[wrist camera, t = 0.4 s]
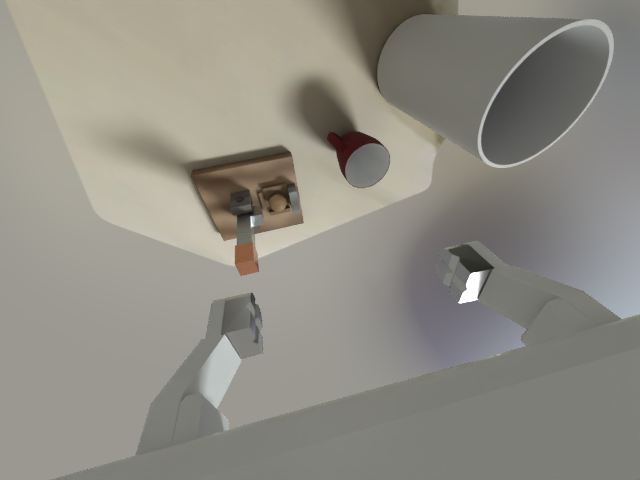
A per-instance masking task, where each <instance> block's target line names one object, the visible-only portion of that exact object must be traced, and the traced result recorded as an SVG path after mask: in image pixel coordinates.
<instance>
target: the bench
mask: <svg viewBox="0 0 640 480" xmlns="http://www.w3.org/2000/svg"><path fill="white" fill-rule="evenodd" d="M191 177H192V179H193V181H194V183H195V185H196V187H197V189H198V191H199V193H200V195H201V197H202V199H203V201H204V202H205V204H206V206H207V208H208V210H209V212H210V214H211V216H212V218H213V220H214V222H215V224H216V226H217V228H218V230H219V232H220V234H221V236H222V238H223V240H224V241H226V240H230V239H235V238H237V215H239V214H243V213H248V212H253V206H258V205H260V206H261V209H262V212H263V217H264V225H259V226H255V227H254V234H257V233H261V232H266V231H270V230H275V229H279V228H283V227H288V226H292V225H297V224H301V223H304V222H303V216H302V210H301V205H300V199H299V193H298V187H297V182H296V176H295V170H294V164H293V159H292V155H291V152H288V153H283V154H277V155H272V156H267V157H262V158H256V159H251V160H246V161H241V162H235V163H230V164H225V165H220V166H214V167H209V168H204V169H199V170H193V171H192V174H191ZM274 194H281V195H283V196H284V197H285V199H286V201H287V204H286V207H285V209H284V210H282V211H279V212H277V211H274V210H272V209H271V208H270V206H269V199H270V197H271V196H272V195H274Z"/></svg>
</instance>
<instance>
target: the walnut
mask: <svg viewBox="0 0 640 480" xmlns="http://www.w3.org/2000/svg"><path fill="white" fill-rule="evenodd" d="M286 204H287V201H286V199H285V197H284V196H283V195H281V194H274V195H272V196H271V197H270V199H269V206H270V208H271V209H272V210H274V211H277V212H279V211H282V210H284V209H285V207H286Z"/></svg>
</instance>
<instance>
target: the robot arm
mask: <svg viewBox="0 0 640 480" xmlns="http://www.w3.org/2000/svg"><path fill="white" fill-rule="evenodd" d="M439 256H440V257H441V260H440V261H439V262H438V263H437V267H436V271H437V275H438V277H439V279H440V281H441V282H442V283H443V284H445V285H447V286H449V292H450V293H451V294H452V295H453V297H454V298H455V299H456V300H457V302H458V303H463V302H467V301H472V300H476V299H478V301H480V302H482V303H483V304H485V305H487V306H488V307H490V308H492V309H494V310H495V311H497V312H499V313H500V314H502V315H504V316H505V317H507V318H509V319H511V320H512V321H514V322H516V323H517V324H519V325H521V326H522V327H524V328H526V329H527V330H526V331H525V332H524V334H523V335H522V336H521V341H522V342H523V343H524V344H525V345H526V346H525V347H522V348H518V349H514V350H511V351H508V352H504V353H500V354H497V355H493V356H490V357H486V358H482V359H479V360H475V361H472V362H468V363H465V364H461V365H457V366H454V367H450V368H447V369H443V370H439V371H436V372H432V373H429V374H425V375H422V376H418V377H415V378H411V379H408V380H404V381H400V382H397V383H393V384H390V385H386V386H383V387H379V388H376V389H372V390H369V391H365V392H361V393H358V394H354V395H350V396H347V397H343V398H340V399H336V400H333V401H329V402H325V403H322V404H318V405H315V406H311V407H308V408H304V409H301V410H297V411H293V412H290V413H286V414H283V415H279V416H276V417H272V418H269V419H265V420H261V421H258V422H254V423H251V424H247V425H244V426H240V427H237V428H233V429H230V430H229V420H228V419H227V418H226V417H225V416H224V415H223V414H222V413H221V412H220V411H218V410H217V407H218V406H219V403H220V402H221V400H222V398H223V396H224V394H225V392H226V390H227V388H228V386H229V384H230V382H231V380H232V378H233V376H234V374H235V372H236V370H237V368H238V367H239V365H240V363H241V359H244V358H247V357H251V356H254V355H258V354H261V353H263V337H262V335H261V333H260V330H261V329H262V317H261V312H260V308H259V306H258V305H257V304H255V297H254V295H253V293H248V294H243V295H238V296H233V297H228V298H224V299H219V300H214V301H213V303H212V304H211V309H210V315H209V321H208V326H207V332H206V338H205V339H203V340H201V341H200V342H199V343H198V345H197V346H196V347H195V349H194V350H193V351H192V353H191V354H190V355H189V356H188V357H187V359H186V360H185V361H184V363H183V364H182V365H181V366H180V368H179V369H178V370H177V371H176V373H175V374H174V375H173V376H172V378H171V379H170V380H169V382H168V383H167V384H166V385H165V387H164V388H163V389H162V390H161V392H160V393H159V394H158V396H157V397H156V398H155V399H154V401H153V402H152V403H151V405H150V408H149V412H148V415H147V418H146V422H145V426H144V429H143V432H142V435H141V439H140V442H139V445H138V449H137V452H136V455H135V456H134V457H130V458H126V459H123V460H119V461H115V462H112V463H108V464H105V465H101V466H98V467H94V468H91V469H87V470H83V471H80V472H76V473H73V474H69V475H66V476H62V477H59V478H56V479H52V480H640V315H636V316H632V317H629V318H625V319H621V318H619V317H618V316H617V315H615V314H614V313H613V312H611V311H610V310H608V309H607V308H606V307H604V306H603V305H602V304H600V303H599V302H598V301H596V300H595V299H593V298H592V297H591V296H589V295H588V294H587V293H585V292H584V291H581V290H579V289H576V288H573V287H571V286H568V285H565V284H562V283H559V282H557V281H554V280H551V279H548V278H546V277H543V276H540V275H537V274H535V273H532V272H529V271H526V270H523V269H521V268H518V267H515V266H512V265H509V266H507V265H506V264H505V263H504V262H502V261H501V260H500V259H499V258H498V257H497V256H495V255H494V254H493V253H492V252H491V251H489V250H488V249H487V248H486V247H485V246H484V245H482V244H481V243H480V242H477V241H474V242H470V243H466V244H461V245H457V246H453V247H449V248H444V249H442V250H441V252H440V255H439Z"/></svg>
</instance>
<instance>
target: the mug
mask: <svg viewBox="0 0 640 480" xmlns="http://www.w3.org/2000/svg"><path fill="white" fill-rule="evenodd" d="M327 140H328V141H329V142H330V143H331V144H332V145H333V146H334V147H335V148H336V149H337V158H338V162H339V166H340V169H341V172H342V174H343V175H344V177H345V178H346V180H347V181H348V182H349V183H350V184H351V185H352V186H354V187H357V188H366V187H370V186H372V185H374V184H376V183H377V182H379V181H380V180H381V179H382V178H383V177H384V175H385V174H386V172H387V170H388V168H389V164H390V155H389V152H388V150H387V149H386V148H385V147H384V146H383V145H382V144H381V143H380V142H379V141H378V140H376V139H375V138H373V137H371V136H368V135H366V134H364V133H361V132H350V133H347V134H345V135H344V136H343V137H342V138H341V137H340V136H338V135H337V134H336V133H334V132H330V133H329V134H328V136H327Z"/></svg>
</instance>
